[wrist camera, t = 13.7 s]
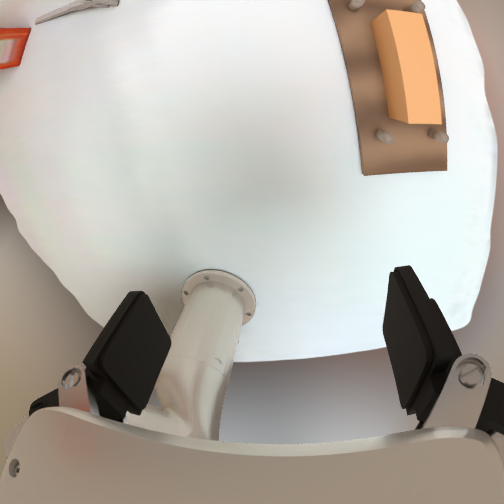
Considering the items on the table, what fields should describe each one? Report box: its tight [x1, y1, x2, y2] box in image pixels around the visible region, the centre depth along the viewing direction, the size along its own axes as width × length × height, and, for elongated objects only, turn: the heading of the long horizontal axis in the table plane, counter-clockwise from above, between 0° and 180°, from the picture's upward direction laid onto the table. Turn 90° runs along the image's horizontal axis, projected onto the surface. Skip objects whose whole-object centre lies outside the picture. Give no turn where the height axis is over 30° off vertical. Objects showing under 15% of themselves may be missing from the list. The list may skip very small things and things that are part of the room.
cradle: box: [328, 0, 449, 176], centre depth 21 cm, size 26×12×5 cm, turn 13°
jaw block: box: [370, 9, 442, 124], centre depth 19 cm, size 4×12×6 cm, turn 12°
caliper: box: [35, 0, 119, 25], centre depth 18 cm, size 20×1×6 cm, turn 75°
